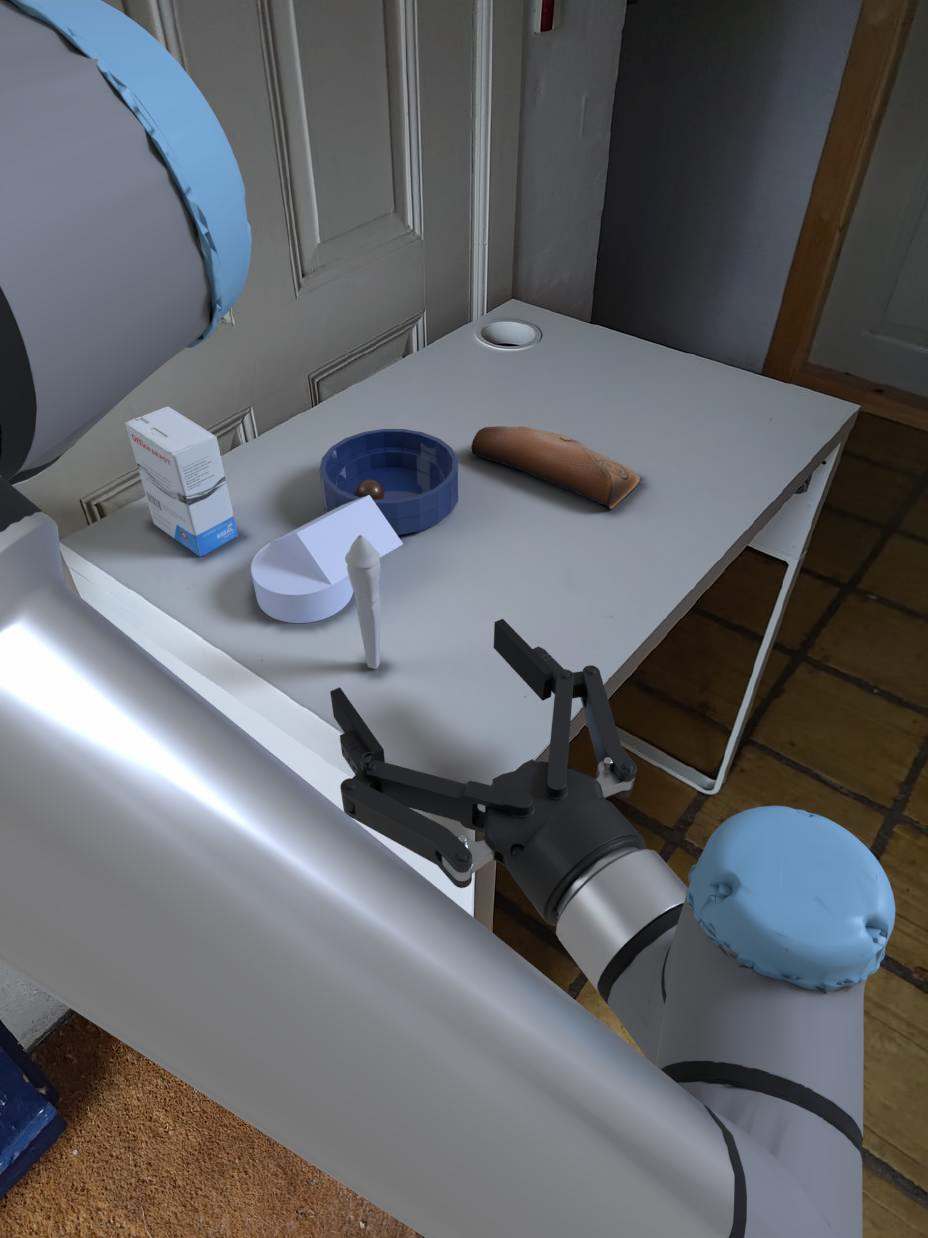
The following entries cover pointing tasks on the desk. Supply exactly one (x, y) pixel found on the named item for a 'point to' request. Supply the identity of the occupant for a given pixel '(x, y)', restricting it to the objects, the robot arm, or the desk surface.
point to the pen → (366, 594)
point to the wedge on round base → (317, 562)
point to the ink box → (183, 479)
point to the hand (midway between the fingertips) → (420, 665)
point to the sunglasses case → (557, 462)
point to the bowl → (394, 475)
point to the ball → (370, 489)
